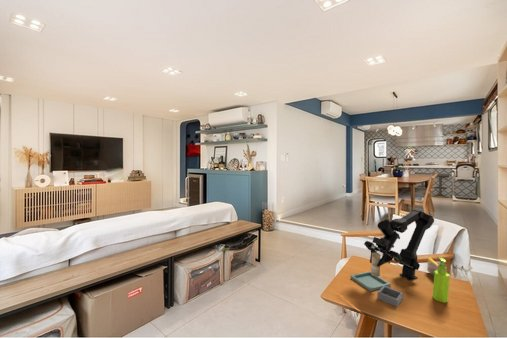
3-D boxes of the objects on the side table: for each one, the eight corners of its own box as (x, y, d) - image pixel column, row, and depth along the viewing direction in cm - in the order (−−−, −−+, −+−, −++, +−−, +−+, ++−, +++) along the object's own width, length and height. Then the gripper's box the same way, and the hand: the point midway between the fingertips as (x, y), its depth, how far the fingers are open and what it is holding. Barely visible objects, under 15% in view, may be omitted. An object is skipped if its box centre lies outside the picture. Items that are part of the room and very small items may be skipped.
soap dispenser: (443, 295, 120) (446, 257, 119) (450, 303, 114) (452, 263, 113) (430, 293, 122) (432, 255, 121) (435, 301, 116) (438, 261, 114)
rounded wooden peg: (376, 272, 128) (377, 252, 127) (381, 276, 124) (382, 255, 123) (369, 272, 127) (370, 252, 127) (373, 276, 124) (374, 256, 123)
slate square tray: (383, 293, 122) (383, 285, 122) (402, 300, 116) (403, 292, 116) (377, 300, 116) (377, 292, 116) (397, 308, 110) (397, 300, 110)
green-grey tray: (369, 274, 140) (369, 271, 140) (390, 287, 127) (390, 283, 127) (350, 279, 135) (350, 275, 135) (370, 292, 122) (370, 288, 122)
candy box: (426, 270, 146) (427, 257, 145) (430, 271, 146) (431, 257, 145) (441, 285, 130) (442, 270, 130) (445, 285, 130) (446, 270, 129)
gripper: (366, 226, 134) (352, 249, 130) (399, 237, 117) (383, 263, 113) (375, 238, 138) (361, 260, 134) (408, 250, 121) (393, 275, 117)
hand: (373, 264), depth 125 cm, fingers closed on rounded wooden peg, 4 cm apart
